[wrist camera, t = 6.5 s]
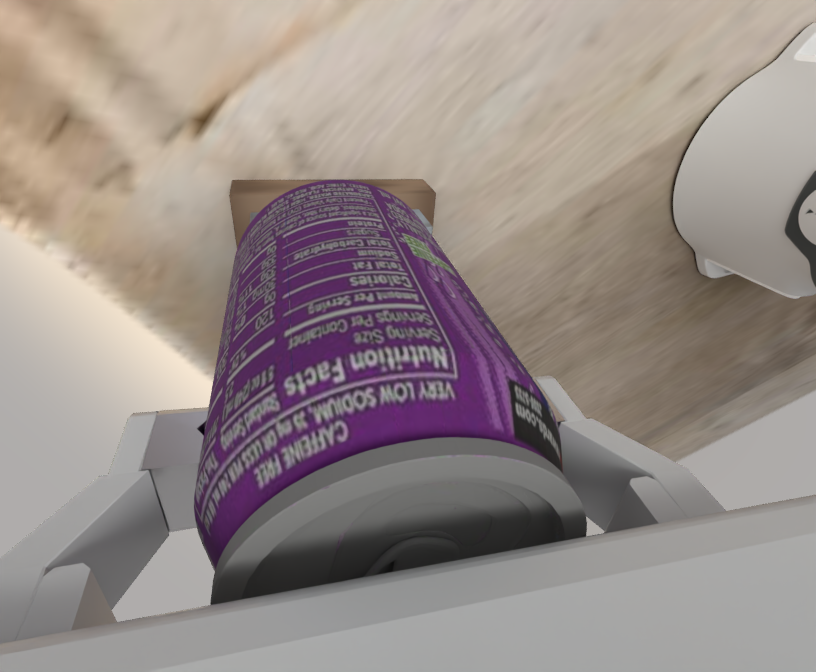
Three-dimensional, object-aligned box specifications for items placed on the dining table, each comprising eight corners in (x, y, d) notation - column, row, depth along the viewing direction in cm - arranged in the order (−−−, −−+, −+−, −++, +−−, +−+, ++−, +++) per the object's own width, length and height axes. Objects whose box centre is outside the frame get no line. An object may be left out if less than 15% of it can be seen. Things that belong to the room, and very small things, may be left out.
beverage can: (377, 371, 20) (467, 692, 11) (207, 317, 17) (116, 701, 8) (465, 227, 18) (696, 483, 8) (282, 132, 15) (290, 363, 5)
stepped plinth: (422, 179, 32) (451, 209, 27) (410, 330, 38) (431, 376, 33) (232, 180, 29) (225, 213, 24) (255, 343, 35) (253, 395, 31)
